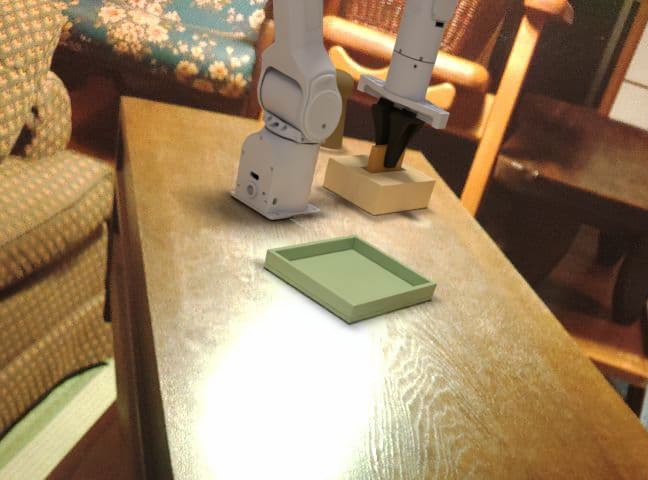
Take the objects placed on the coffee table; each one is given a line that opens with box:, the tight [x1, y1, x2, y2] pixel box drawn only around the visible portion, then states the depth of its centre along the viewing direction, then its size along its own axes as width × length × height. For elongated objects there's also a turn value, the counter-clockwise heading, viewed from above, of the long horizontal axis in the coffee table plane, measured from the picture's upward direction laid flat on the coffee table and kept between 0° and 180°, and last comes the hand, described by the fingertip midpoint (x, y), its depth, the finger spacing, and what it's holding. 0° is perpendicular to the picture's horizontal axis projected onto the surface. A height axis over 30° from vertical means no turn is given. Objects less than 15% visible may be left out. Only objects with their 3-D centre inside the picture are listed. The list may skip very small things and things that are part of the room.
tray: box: [263, 234, 438, 324], centre depth 84 cm, size 15×13×2 cm
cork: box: [320, 67, 355, 150], centre depth 119 cm, size 6×6×11 cm
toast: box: [366, 144, 408, 173], centre depth 106 cm, size 7×1×7 cm, turn 138°
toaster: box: [322, 153, 437, 217], centre depth 108 cm, size 14×10×4 cm
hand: (384, 164), depth 106 cm, fingers closed on toast, 1 cm apart
